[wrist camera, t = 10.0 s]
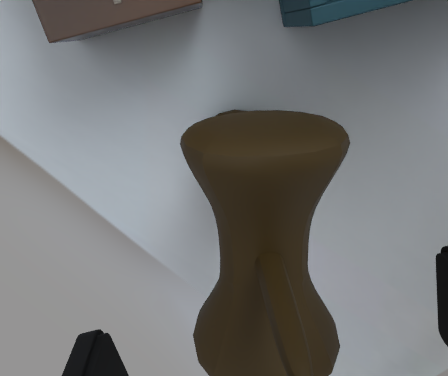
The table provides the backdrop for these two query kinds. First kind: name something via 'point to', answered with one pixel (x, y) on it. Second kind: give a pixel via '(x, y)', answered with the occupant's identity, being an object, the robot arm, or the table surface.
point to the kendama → (265, 240)
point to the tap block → (102, 15)
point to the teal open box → (327, 10)
